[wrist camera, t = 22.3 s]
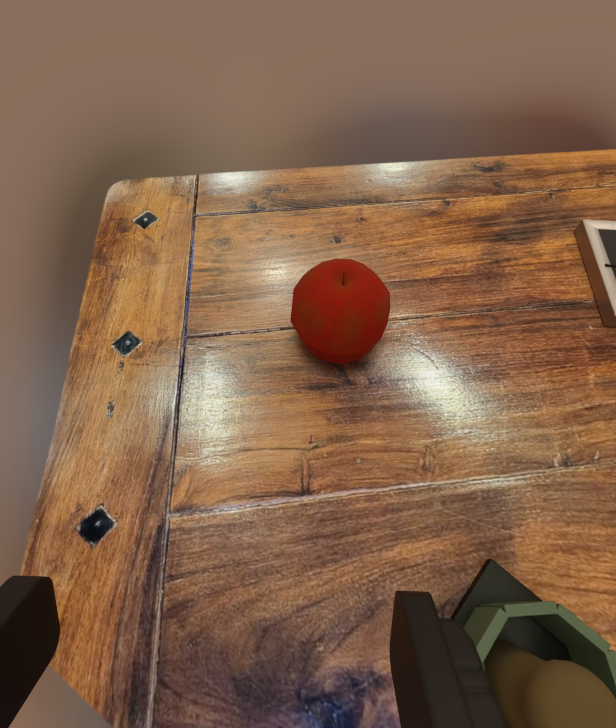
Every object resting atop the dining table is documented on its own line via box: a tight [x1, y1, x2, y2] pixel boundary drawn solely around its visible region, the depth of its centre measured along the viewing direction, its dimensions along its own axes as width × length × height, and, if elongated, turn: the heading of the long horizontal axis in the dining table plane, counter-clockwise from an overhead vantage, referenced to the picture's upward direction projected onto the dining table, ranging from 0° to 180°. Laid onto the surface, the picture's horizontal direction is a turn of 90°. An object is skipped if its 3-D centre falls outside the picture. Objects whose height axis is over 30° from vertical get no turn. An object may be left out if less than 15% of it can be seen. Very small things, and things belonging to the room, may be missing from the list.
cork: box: [483, 640, 616, 728], centre depth 28 cm, size 6×6×11 cm
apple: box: [291, 259, 390, 364], centre depth 44 cm, size 10×10×12 cm
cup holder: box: [450, 559, 616, 699], centre depth 31 cm, size 12×12×6 cm
